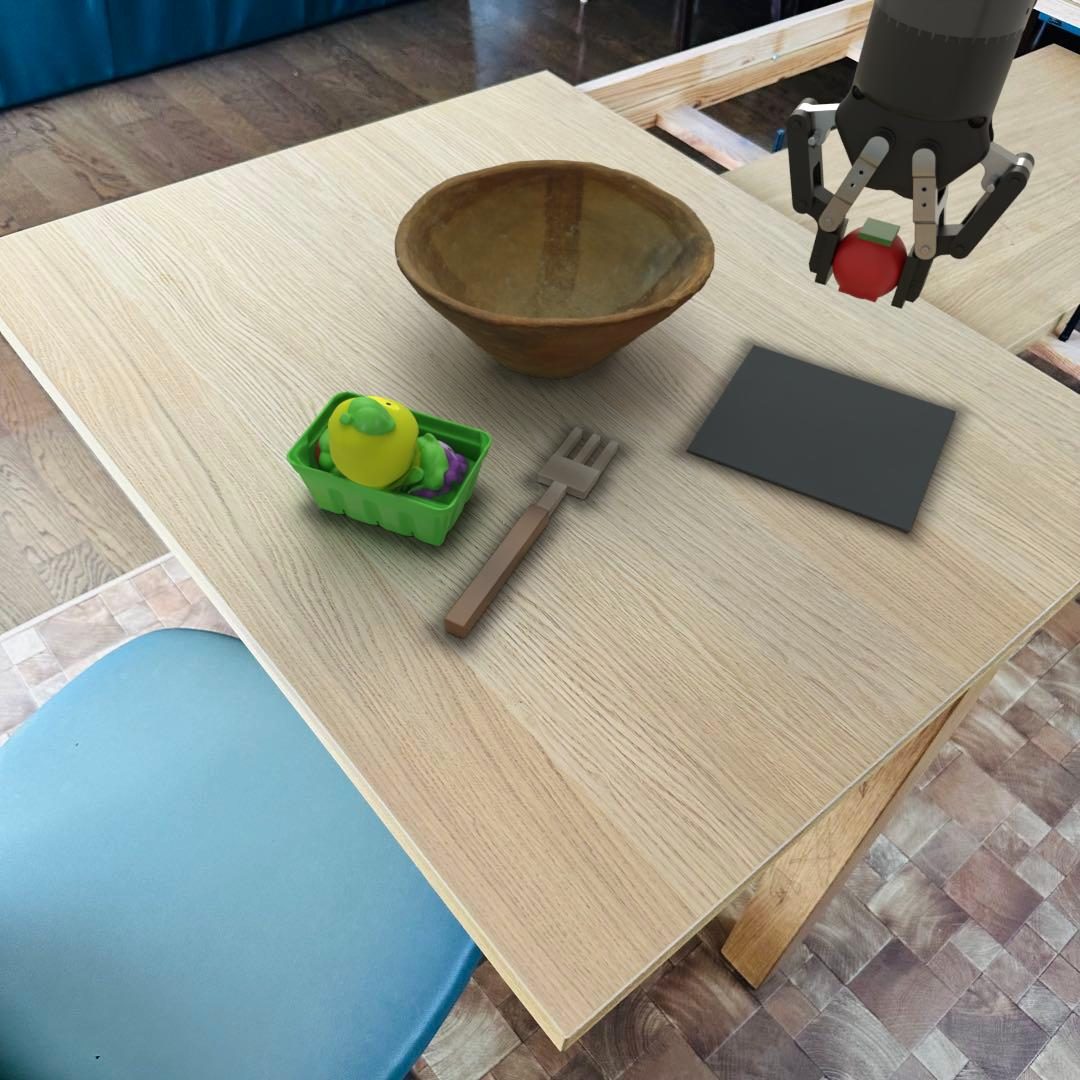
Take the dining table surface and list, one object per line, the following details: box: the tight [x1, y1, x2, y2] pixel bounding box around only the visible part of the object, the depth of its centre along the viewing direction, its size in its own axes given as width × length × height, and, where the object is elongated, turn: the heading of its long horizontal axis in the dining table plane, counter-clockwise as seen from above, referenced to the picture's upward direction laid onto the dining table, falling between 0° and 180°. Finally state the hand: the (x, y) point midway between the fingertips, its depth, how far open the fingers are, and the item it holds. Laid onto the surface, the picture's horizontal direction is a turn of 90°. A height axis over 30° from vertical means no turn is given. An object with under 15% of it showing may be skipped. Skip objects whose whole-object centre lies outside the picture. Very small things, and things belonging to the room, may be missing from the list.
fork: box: [443, 426, 619, 640], centre depth 67 cm, size 20×4×1 cm, turn 152°
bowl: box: [394, 159, 716, 379], centre depth 77 cm, size 22×23×10 cm
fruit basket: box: [285, 391, 493, 547], centre depth 64 cm, size 11×9×11 cm
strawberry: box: [832, 217, 908, 303], centre depth 63 cm, size 4×4×4 cm
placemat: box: [686, 344, 957, 534], centre depth 75 cm, size 16×14×1 cm
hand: (862, 288), depth 64 cm, fingers closed on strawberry, 4 cm apart
